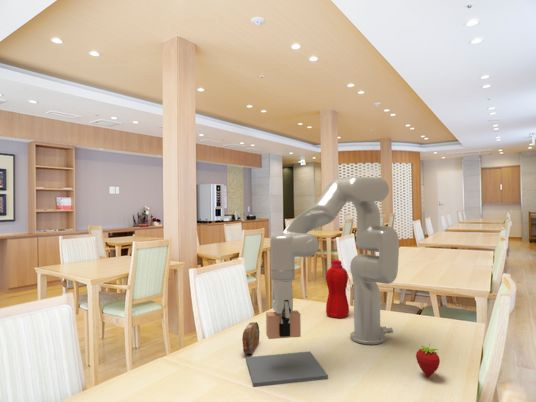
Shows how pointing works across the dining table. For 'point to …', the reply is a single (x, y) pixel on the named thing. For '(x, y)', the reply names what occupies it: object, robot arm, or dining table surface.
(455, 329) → the dining table surface
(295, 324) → the card box
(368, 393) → the dining table surface
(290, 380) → the mat
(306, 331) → the dining table surface
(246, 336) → the brown rounded slab
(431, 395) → the dining table surface
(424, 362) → the strawberry
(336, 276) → the water bottle
